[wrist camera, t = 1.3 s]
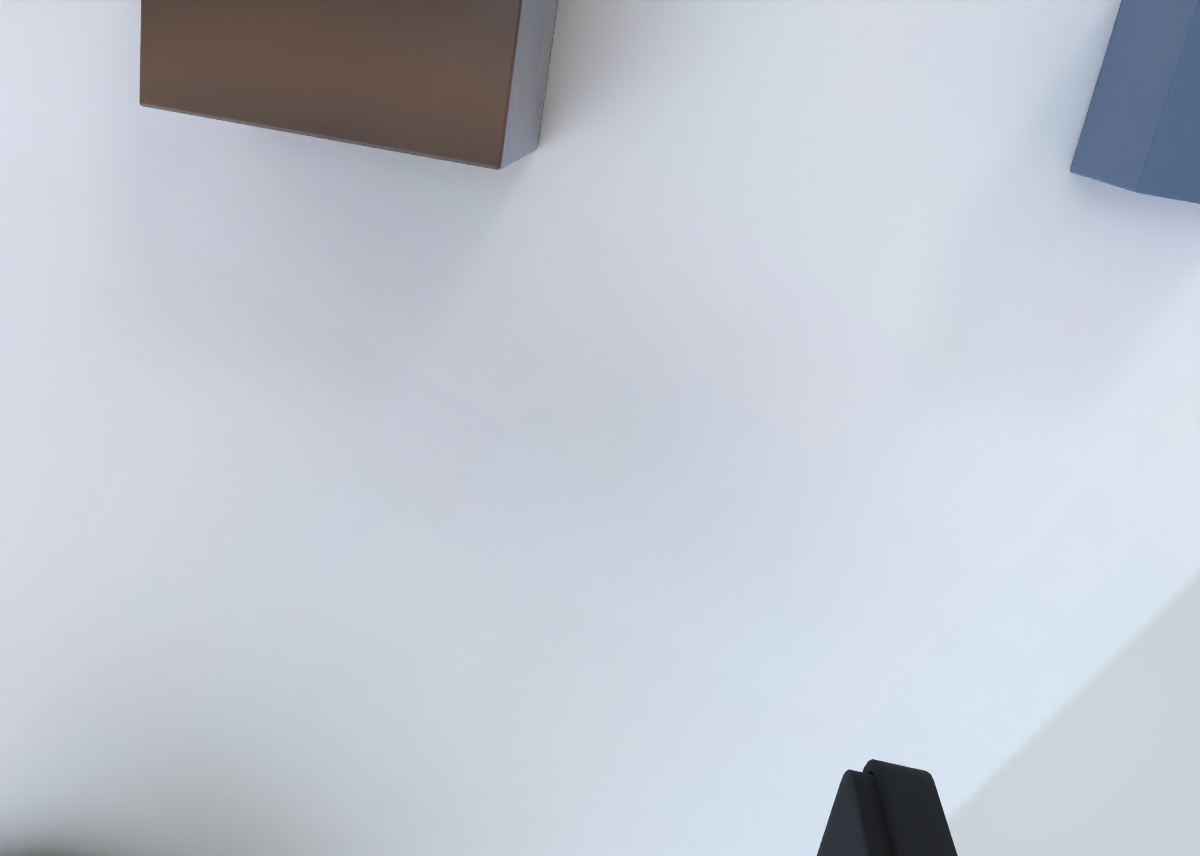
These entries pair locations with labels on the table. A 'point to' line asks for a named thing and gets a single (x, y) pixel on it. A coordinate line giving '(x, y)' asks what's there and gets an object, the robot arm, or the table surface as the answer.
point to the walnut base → (359, 70)
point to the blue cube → (1147, 103)
